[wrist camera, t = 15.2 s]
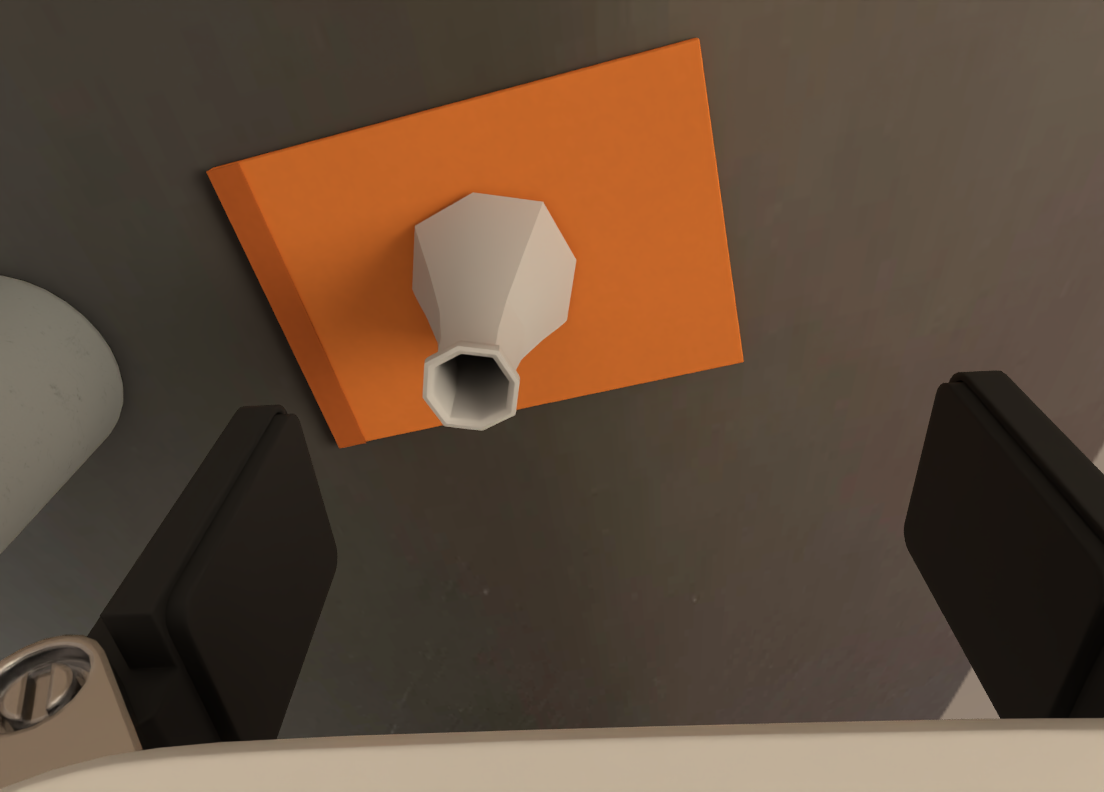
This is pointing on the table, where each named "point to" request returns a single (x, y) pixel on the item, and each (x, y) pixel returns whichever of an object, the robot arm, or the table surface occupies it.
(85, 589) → the table surface
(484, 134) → the orange rectangular board
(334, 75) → the table surface
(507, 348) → the flask
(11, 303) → the water bottle
